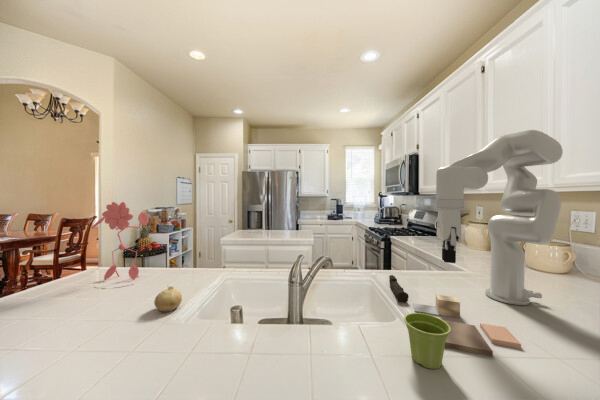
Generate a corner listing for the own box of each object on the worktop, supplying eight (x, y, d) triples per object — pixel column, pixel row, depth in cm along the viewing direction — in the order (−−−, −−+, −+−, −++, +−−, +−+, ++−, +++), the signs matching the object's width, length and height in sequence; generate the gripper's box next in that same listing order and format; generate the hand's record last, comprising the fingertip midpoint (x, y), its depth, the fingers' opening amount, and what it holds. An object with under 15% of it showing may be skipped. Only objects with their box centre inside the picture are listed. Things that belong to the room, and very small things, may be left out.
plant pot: (397, 346, 58) (397, 311, 58) (435, 347, 58) (435, 312, 58) (414, 374, 49) (415, 333, 48) (460, 376, 48) (460, 335, 48)
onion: (185, 308, 76) (185, 287, 76) (158, 317, 71) (158, 294, 71) (176, 301, 82) (177, 281, 82) (151, 309, 76) (151, 287, 76)
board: (474, 329, 66) (474, 325, 66) (492, 356, 54) (492, 351, 54) (419, 319, 70) (419, 316, 70) (425, 342, 59) (426, 338, 59)
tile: (505, 327, 65) (521, 344, 57) (505, 332, 65) (521, 350, 57) (479, 323, 67) (491, 338, 59) (479, 328, 67) (491, 344, 59)
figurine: (102, 275, 107) (101, 201, 106) (156, 276, 107) (156, 201, 106) (69, 289, 92) (67, 202, 91) (132, 290, 92) (131, 203, 91)
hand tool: (408, 304, 82) (408, 291, 82) (396, 302, 83) (397, 290, 83) (397, 284, 100) (397, 274, 100) (387, 284, 101) (387, 273, 101)
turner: (455, 311, 77) (455, 296, 76) (460, 319, 71) (461, 303, 71) (413, 304, 81) (413, 290, 81) (414, 312, 75) (415, 297, 75)
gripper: (431, 204, 83) (431, 255, 83) (441, 205, 68) (440, 266, 68) (455, 204, 80) (455, 257, 80) (471, 205, 66) (470, 269, 66)
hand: (448, 261), depth 74 cm, fingers closed
